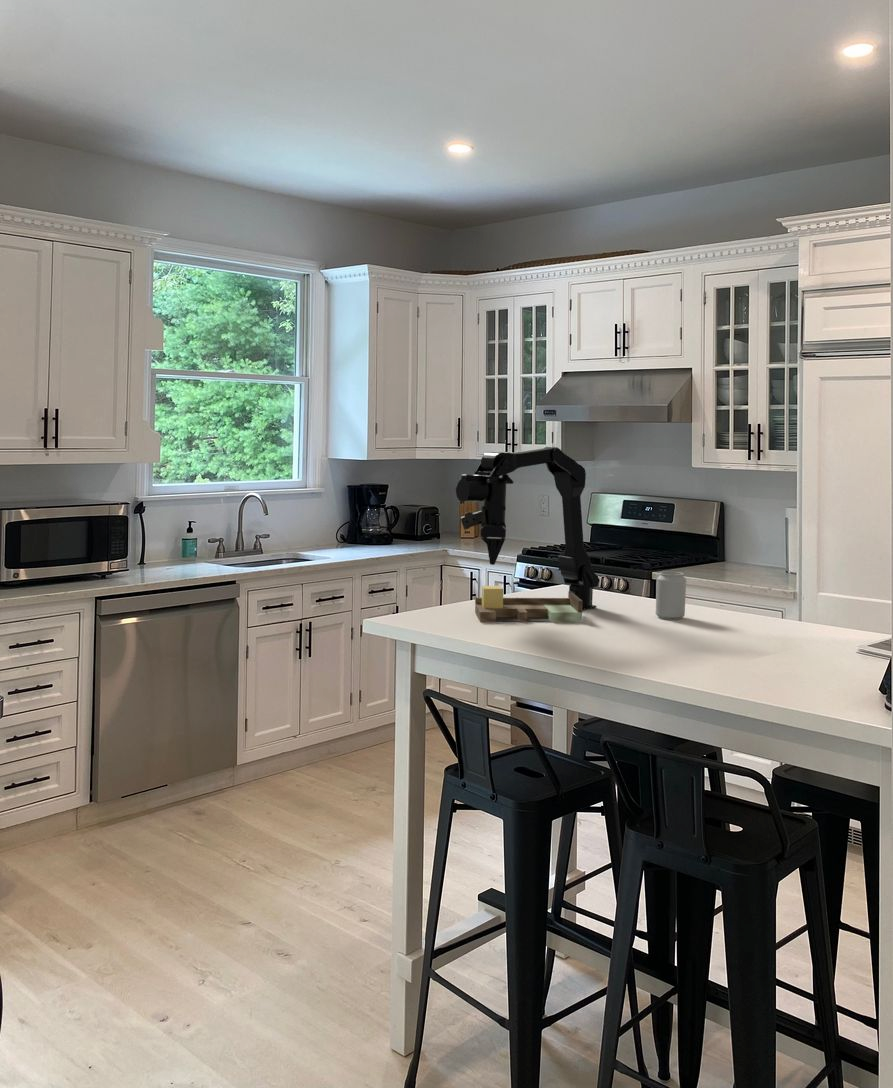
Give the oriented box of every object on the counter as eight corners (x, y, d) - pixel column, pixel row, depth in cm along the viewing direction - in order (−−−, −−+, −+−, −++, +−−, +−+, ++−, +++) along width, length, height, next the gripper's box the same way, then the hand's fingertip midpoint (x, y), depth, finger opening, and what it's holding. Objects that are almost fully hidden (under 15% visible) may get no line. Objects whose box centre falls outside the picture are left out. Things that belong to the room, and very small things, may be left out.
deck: (571, 612, 261) (572, 592, 261) (581, 622, 249) (582, 600, 248) (475, 612, 260) (475, 592, 259) (480, 621, 247) (480, 600, 246)
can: (682, 615, 260) (684, 570, 259) (686, 620, 253) (688, 574, 251) (653, 614, 261) (655, 570, 260) (657, 619, 254) (658, 574, 252)
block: (500, 604, 258) (500, 585, 257) (502, 608, 253) (503, 588, 252) (481, 604, 257) (482, 585, 257) (483, 607, 252) (484, 588, 252)
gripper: (464, 498, 259) (462, 557, 260) (461, 502, 240) (459, 565, 242) (506, 499, 258) (504, 558, 260) (506, 504, 239) (504, 567, 241)
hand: (492, 562), depth 251 cm, fingers open, 9 cm apart
